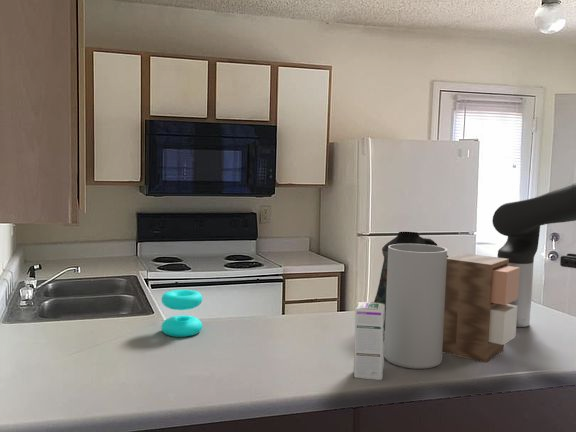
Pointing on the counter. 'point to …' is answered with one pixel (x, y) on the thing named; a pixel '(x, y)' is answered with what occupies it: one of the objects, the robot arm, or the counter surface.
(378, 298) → the beer stein
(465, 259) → the wooden drawer cabinet
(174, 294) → the donuts
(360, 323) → the syrup box
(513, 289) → the salmon pink block
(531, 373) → the counter surface
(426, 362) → the cylinder vase
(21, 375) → the counter surface
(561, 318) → the counter surface
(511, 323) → the light grey drawer
